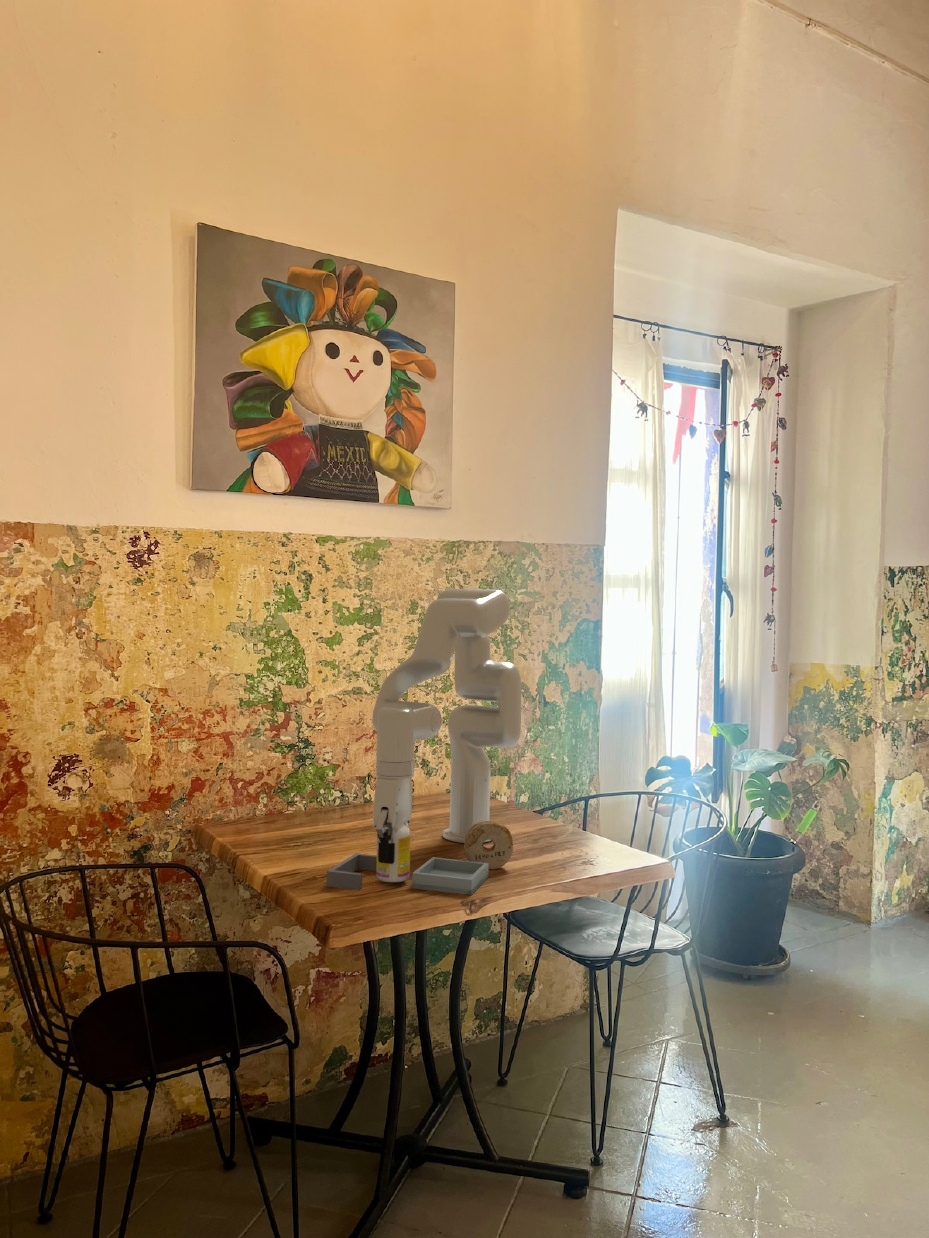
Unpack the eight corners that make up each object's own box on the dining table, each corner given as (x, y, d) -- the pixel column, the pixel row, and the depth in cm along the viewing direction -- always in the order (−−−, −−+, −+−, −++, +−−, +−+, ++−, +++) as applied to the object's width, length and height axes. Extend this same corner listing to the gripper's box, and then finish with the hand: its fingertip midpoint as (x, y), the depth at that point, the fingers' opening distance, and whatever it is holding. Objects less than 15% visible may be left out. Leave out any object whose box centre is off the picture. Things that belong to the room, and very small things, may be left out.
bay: (355, 867, 192) (356, 852, 192) (386, 870, 190) (387, 856, 190) (326, 886, 179) (327, 871, 179) (359, 890, 177) (360, 874, 177)
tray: (432, 871, 190) (432, 857, 190) (488, 877, 187) (488, 863, 187) (412, 888, 179) (412, 872, 179) (471, 895, 175) (471, 879, 175)
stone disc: (510, 865, 196) (512, 819, 196) (513, 870, 193) (514, 823, 193) (462, 865, 196) (463, 818, 196) (463, 870, 192) (465, 822, 192)
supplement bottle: (410, 873, 186) (411, 810, 186) (409, 883, 179) (410, 818, 179) (377, 873, 186) (378, 810, 186) (374, 883, 179) (376, 817, 179)
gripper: (393, 760, 192) (391, 845, 192) (360, 774, 175) (358, 867, 175) (427, 762, 189) (425, 848, 190) (396, 777, 173) (394, 871, 173)
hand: (393, 857), depth 182 cm, fingers closed on supplement bottle, 6 cm apart
